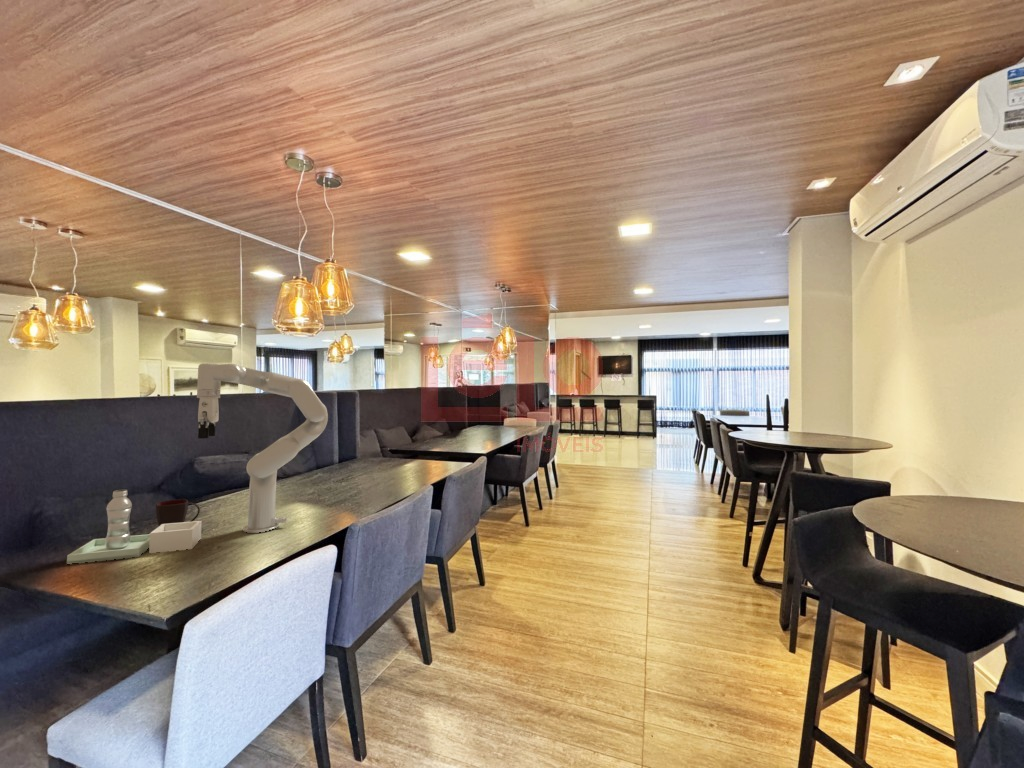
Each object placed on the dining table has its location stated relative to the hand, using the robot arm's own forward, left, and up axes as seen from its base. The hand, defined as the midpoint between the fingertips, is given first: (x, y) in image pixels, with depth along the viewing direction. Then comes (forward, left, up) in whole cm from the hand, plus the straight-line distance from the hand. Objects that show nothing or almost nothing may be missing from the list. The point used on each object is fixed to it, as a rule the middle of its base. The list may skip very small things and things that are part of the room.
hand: (206, 437), depth 163 cm
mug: (+10, -7, -38) cm, 40 cm away
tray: (+22, +12, -38) cm, 46 cm away
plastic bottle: (+22, +11, -38) cm, 45 cm away
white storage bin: (+5, +12, -38) cm, 40 cm away
